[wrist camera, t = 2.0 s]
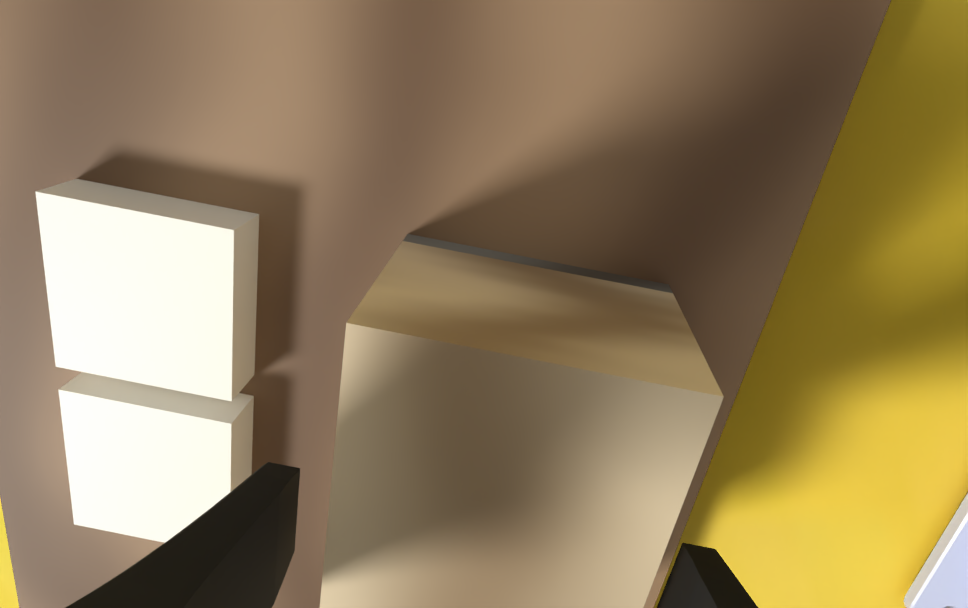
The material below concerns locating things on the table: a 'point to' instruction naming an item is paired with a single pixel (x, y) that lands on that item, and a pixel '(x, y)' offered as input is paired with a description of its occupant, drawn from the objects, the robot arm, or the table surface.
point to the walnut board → (405, 187)
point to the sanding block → (510, 434)
